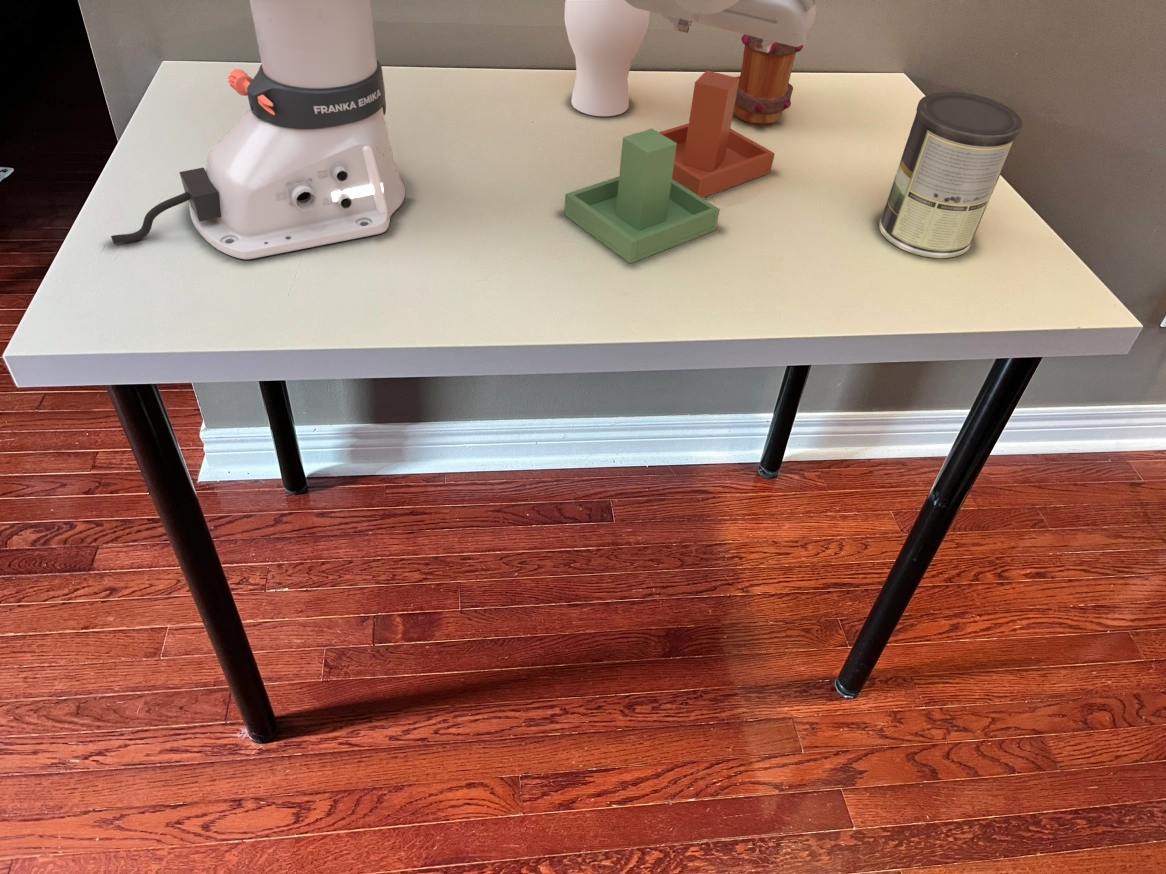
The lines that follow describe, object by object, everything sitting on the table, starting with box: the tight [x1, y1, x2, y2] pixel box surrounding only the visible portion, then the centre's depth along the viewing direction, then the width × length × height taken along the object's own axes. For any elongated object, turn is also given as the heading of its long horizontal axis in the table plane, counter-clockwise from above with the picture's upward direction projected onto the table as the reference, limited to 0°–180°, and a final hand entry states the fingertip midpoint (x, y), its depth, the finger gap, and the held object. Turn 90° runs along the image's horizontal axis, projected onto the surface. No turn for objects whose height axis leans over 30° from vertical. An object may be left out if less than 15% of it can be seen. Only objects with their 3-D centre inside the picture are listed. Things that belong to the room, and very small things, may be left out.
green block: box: [616, 128, 677, 231], centre depth 93 cm, size 4×4×9 cm
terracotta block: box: [683, 69, 739, 172], centre depth 103 cm, size 4×4×10 cm
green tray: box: [563, 175, 720, 265], centre depth 96 cm, size 12×11×3 cm
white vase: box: [564, 0, 651, 117], centre depth 113 cm, size 11×11×15 cm
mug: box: [733, 34, 804, 125], centre depth 115 cm, size 15×8×15 cm, turn 168°
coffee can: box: [878, 91, 1023, 259], centre depth 94 cm, size 10×10×14 cm
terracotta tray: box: [658, 122, 776, 199], centre depth 106 cm, size 12×11×3 cm
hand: (723, 35), depth 97 cm, fingers open, 8 cm apart
